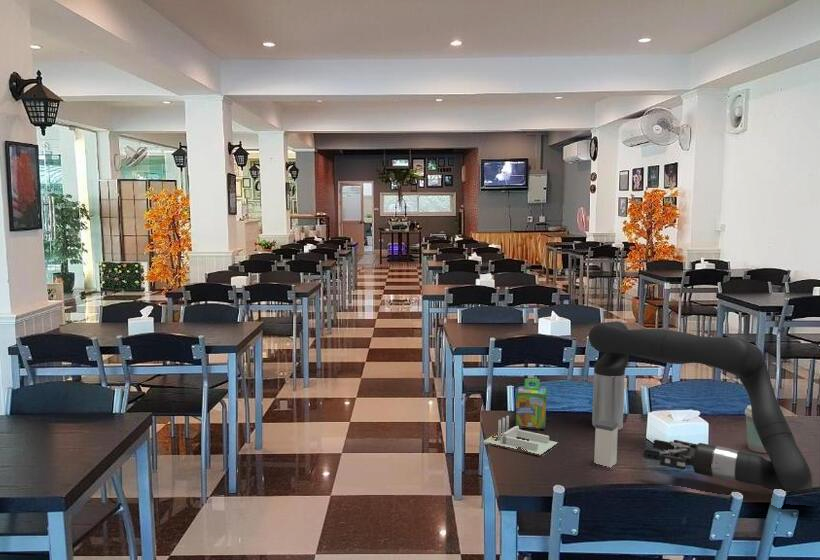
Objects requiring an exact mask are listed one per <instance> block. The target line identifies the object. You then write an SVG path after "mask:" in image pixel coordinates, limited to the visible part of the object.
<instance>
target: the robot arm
mask: <svg viewBox="0 0 820 560" xmlns="http://www.w3.org/2000/svg"><path fill="white" fill-rule="evenodd" d="M588 342H589V344H590V345H591V347H592V348H593V349H595V350H596V351H597V352H600V353H603V354H602V355H601V357H600V358H599V359H598V360H596V362H594V366H593V367H594V368H593V389H592V391H593V393H592V394H593V395H592V417H591V425H593V426H594V427H593V426H592V427H593V428H594V429H596V424H597V423H598V422H600V421H601V420H604V421H609V422H614V423H618V431H621V430H622V429H623V425H624V402H625V378H626V377H625V376H626V375H625V374H626V369H627V366H628V363H629V357H630V356H634V357H638V358H643V359H647V360H652V361H657V362H661V363H666V364H674V365H686V364H699V365H705V366H710V367H712V368H717V369H719V370H722V371H724V372H727V373H729V374H731V375H733V376H735V377H737V378H738V379H739V381H740V382H741V383H742V385H743V386H744V388H745V391H746V392H747V393H746V394H748V397H749V398H748V399H749V402H750V405H751V410H752V418H753V423H754V426H755V429H756V431H757V433H758V436H759V438H760V440H761V443H762V445H763V447H764V449H765V450H766V452H767V454H768V457H769V460H767V459H766V458H765V457H763V456H761V455H759V454H755V453H750V452H745V451H739V450H736V449H732V448H729V447H725V446H721V445H720V446H719V445H713V444H708V443H703V442H699V443H692V442H689V441H688V442H687V441H683V440H679V439H673V440H672V441H665V440H659V439H654V440H653V442H652V443H653V445H652V447H653V449H649V448H644V450H643V458H644V459H649V460H654V461H658V463H659V465H660V466H663V467H668V468H674V469H679V470H683V471H684V470H686V467H687V466H692V468H693V471H694V473H695V474H697V475H701V476H707V477H711V478H716V479H720V480H726V481H734V482H735V481H736V482H738V483H739V482H740V483H744V484H751V485H757V486H758V487H759V486H761V487H762V488H764V489H765V488H766V489H768V490H771V491H774V489H782V490H784V491H796V490H803V489H809V488H811V489H812V488H813V475H812V471H811V469H810V467H809V464H808V463H807V461H806V458H805V457H804V454H803V453H802V452H801V449H800V448H799V446H798V445H797V441H796V439H795V437H794V435H793V432H792V430H791V428H790V426H789V424H788V422H787V420H786V417H785V415H784V413H783V411H782V409H781V407H780V404H779V401H778V399H777V397H776V394H775V390H774V388H773V384H772V381H771V378H770V374H769V370H768V366H767V363H766V362H767V361H766V359H765V356H764V353H763V351H762V350H761V349H760V348H759V347H758V346H756V345H755V344H753V343H751V342H749V341H747V340H745V339H743V338H740V337H733V336H731V337H730V336H728V337H724V336H719V337H718V336H702V335H697V334H694V333H693V334H692V333H689V332H684V331H683V332H682V331H677V330H670V329H660V328H642V329H628V327H627V326H626V324H624V322H621V321H618V320H616V321H607V322H600V323H598V324H595V325H593V327H592V328H591V329H590V330H589V333H588ZM654 449H655V450H654ZM656 449H657V450H656ZM659 450H661V451H659Z"/></svg>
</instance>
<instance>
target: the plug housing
mask: <svg viewBox="0 0 820 560" xmlns="http://www.w3.org/2000/svg"><path fill="white" fill-rule="evenodd" d="M594 429H595V433H594V435H595V437H594V455H593V456H594V460H593V464H594V463H596V464H600V465H603V466H602V467H604V466H607V467H606V468H608V467H610V468H609V469H612V468H613V467H614V466H615V465H616V464H617V457H618V456H617V454H618V453H617V452H618V433H619V432H618V431H619V430H618V423H614V422H609V421H604V420H601V421H600V422H598V423H597V424H596V428H594ZM613 465H614V466H613ZM612 466H613V467H612ZM611 467H612V468H611Z"/></svg>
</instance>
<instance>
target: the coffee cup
mask: <svg viewBox="0 0 820 560" xmlns="http://www.w3.org/2000/svg"><path fill="white" fill-rule="evenodd" d="M744 415H745V421H746V422H745V424H746V425H745V426H746V438H747V441H746V442H747V448H748V450H750V451H753V452H756V453H760V454H761V453H764V454H766V453H767V452H766V450H765V449H764V447H763V445H762V443H761V440H760V438H759V436H758V433H757V431H756V429H755V426H754V423H753V418H752V410H751V404H749V405H747V407H746V409H745V410H744ZM767 454H768V453H767Z"/></svg>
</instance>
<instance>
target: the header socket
mask: <svg viewBox="0 0 820 560" xmlns="http://www.w3.org/2000/svg"><path fill="white" fill-rule="evenodd" d="M497 422H498V424H497V425H498V426H497V429H498V430H497V433H498V436H497V435H496V436H494V437H498V440H497V441H495V439H496V438H492V436H493V435H492V436H490V437H488V438H486V439H484V440H483V441H482V444H483V445H487V444H489V443H491V444H496V445H500V446H505V447H510V448H514V449H517V448H518V447H521V449H522V448H523V449H524V450H525V449H526V450H527V451H528V452H531V453H535V454H539V455H541V454H543V453H544V452H546V451H547V450H548V449H550V448H552V447H553V446H554V445H556V444H557V443H558V444H559V442H558V441H553V440H550V436H549V435H546V434H542V433H536V432H533V431H528V430H525V429H523V430H522V429H520V428H519V426H513V427H511V428H510V416H509V415H506V417H502V418H501V419H498V421H497ZM509 428H510V429H509ZM501 431H502V433H501ZM505 431H506V432H505ZM501 435H502V436H501ZM516 437H521V438H525V439H529V441H527V440H522V439H517V438H516ZM487 446H488V445H487ZM516 447H517V448H516ZM523 449H522V450H523ZM526 450H525V451H526Z"/></svg>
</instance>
